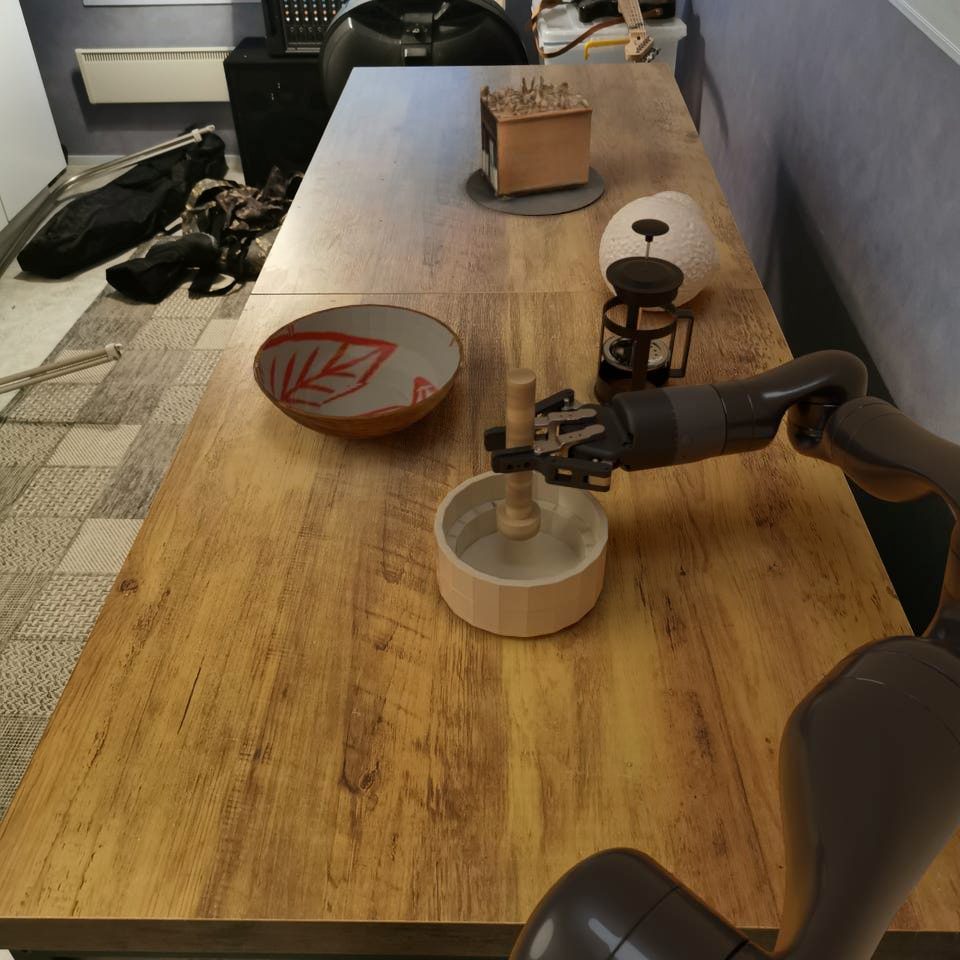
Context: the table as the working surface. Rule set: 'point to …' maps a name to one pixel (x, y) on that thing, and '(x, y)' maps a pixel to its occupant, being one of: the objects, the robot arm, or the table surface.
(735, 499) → the table surface
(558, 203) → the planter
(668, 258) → the decorative orb
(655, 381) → the french press
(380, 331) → the bowl
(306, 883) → the table surface
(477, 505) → the cream open cylinder
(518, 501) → the wooden pestle
